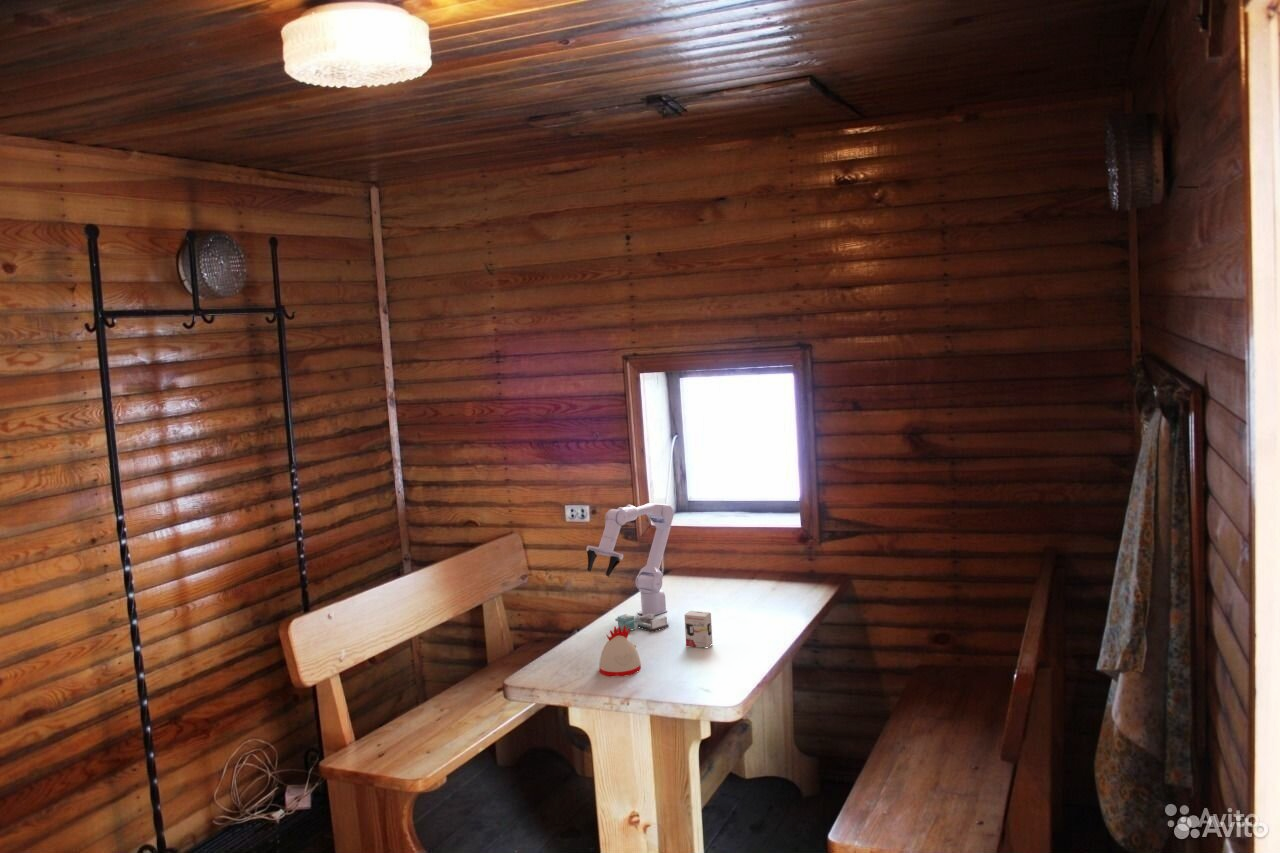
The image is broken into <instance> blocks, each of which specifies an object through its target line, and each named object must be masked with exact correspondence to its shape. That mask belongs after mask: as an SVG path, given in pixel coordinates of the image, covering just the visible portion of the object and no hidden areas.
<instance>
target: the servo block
mask: <svg viewBox="0 0 1280 853" xmlns="http://www.w3.org/2000/svg"><path fill="white" fill-rule="evenodd" d="M614 620H615V621H616V622H617V625H618V626H617V630H618V629H619V626H620V628H621V631H622V630H623V628H624V625H625V626H626V631H627V630H628V629H629V628H630V630H631V629H634V628H635V627H636V625H635V623H638V619H635V616H632V615H631V614H626V613H625V614H622V615H618V616H617V618H615V619H614ZM635 629H636V628H635ZM635 629H634V630H635ZM631 631H632V630H631Z"/></svg>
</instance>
